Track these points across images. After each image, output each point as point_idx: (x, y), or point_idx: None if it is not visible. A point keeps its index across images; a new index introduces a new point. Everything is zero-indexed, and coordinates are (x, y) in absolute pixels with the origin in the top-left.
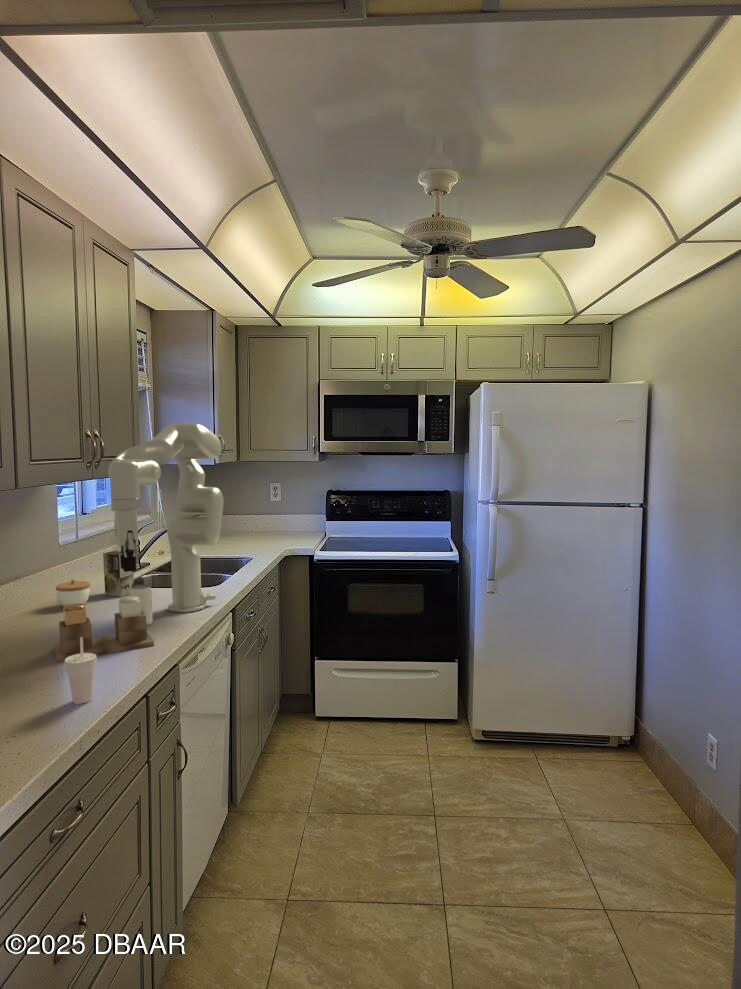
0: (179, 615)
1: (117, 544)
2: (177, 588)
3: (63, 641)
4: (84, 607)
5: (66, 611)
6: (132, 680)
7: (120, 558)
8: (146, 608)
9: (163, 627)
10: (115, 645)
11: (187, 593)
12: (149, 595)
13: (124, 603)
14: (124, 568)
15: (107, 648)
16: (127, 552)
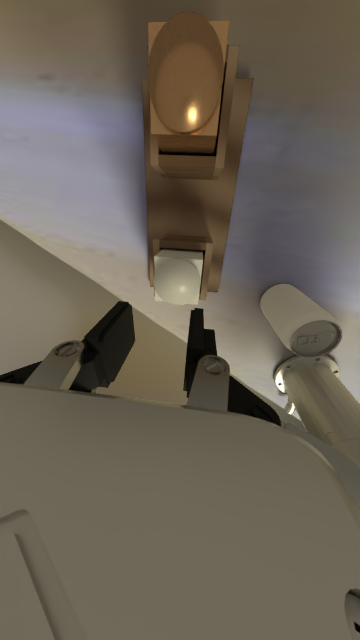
0: (274, 354)
1: (18, 396)
2: (318, 391)
3: None
4: (170, 132)
5: (149, 33)
6: (14, 217)
7: (198, 334)
8: (269, 319)
9: (231, 320)
10: (161, 226)
11: (296, 392)
12: (280, 339)
13: (154, 263)
14: (114, 308)
15: (151, 208)
16: (10, 374)
